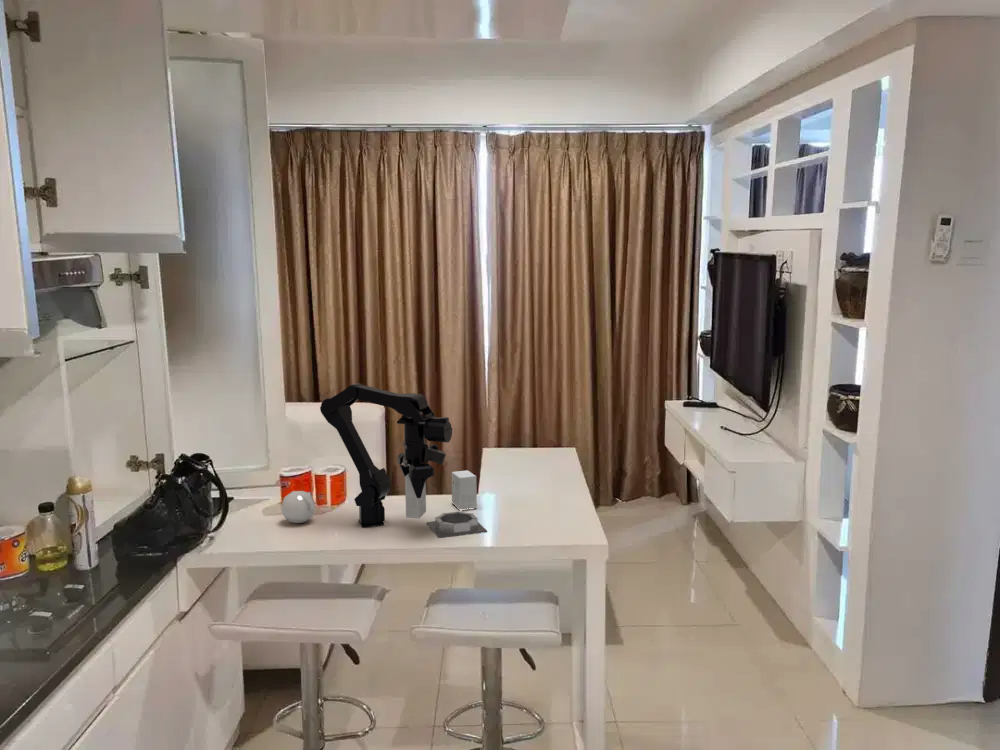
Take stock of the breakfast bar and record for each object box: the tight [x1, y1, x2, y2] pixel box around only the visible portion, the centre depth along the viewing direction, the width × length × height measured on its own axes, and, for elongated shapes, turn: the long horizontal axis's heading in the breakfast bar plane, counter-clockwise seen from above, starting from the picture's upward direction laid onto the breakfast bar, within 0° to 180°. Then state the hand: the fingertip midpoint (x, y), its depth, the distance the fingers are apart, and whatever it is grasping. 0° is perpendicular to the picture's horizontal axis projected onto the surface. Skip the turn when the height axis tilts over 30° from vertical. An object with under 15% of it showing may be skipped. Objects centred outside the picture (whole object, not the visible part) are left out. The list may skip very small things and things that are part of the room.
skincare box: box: [404, 474, 427, 519], centre depth 211 cm, size 6×4×12 cm
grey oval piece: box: [280, 490, 316, 524], centre depth 220 cm, size 9×10×15 cm
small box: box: [451, 470, 478, 509], centre depth 232 cm, size 8×6×10 cm
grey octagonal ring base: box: [426, 511, 488, 539], centre depth 213 cm, size 14×13×3 cm
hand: (415, 494), depth 211 cm, fingers closed on skincare box, 7 cm apart
